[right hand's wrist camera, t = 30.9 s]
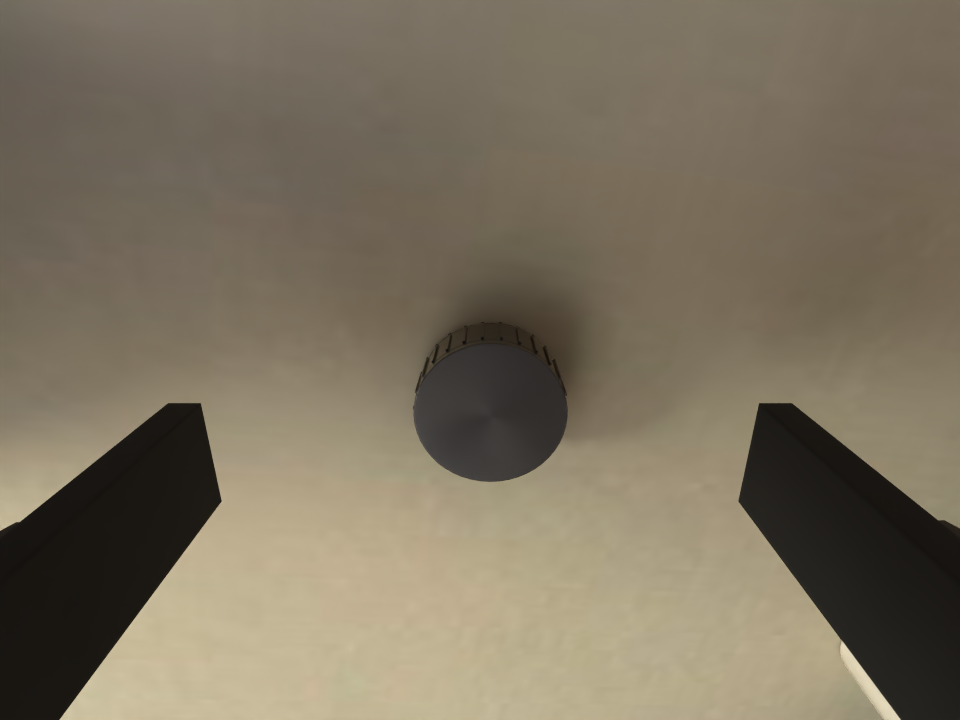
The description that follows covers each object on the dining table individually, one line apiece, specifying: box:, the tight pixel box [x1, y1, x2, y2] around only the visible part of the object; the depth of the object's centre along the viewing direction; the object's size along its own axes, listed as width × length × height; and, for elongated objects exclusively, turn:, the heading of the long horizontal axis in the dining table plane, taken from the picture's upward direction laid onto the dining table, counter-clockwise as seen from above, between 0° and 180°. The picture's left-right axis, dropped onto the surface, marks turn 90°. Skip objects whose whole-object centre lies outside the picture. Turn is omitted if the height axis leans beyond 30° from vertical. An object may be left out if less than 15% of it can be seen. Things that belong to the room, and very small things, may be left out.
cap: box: [413, 322, 568, 482], centre depth 16 cm, size 4×4×2 cm
